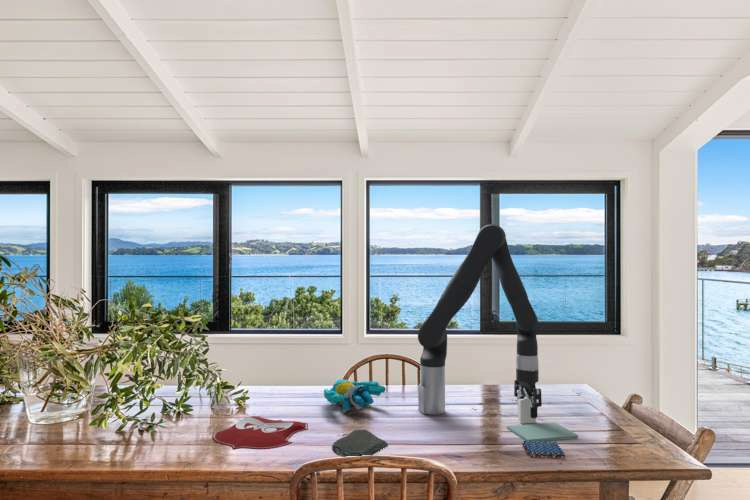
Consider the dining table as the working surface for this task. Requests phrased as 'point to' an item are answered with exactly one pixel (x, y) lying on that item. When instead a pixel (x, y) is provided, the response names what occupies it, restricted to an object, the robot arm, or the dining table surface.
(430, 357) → the robot arm
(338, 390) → the toy
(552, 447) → the woven mat
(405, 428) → the dining table surface
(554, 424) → the mat
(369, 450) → the stone slab
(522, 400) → the rectangular block
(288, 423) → the emblem
